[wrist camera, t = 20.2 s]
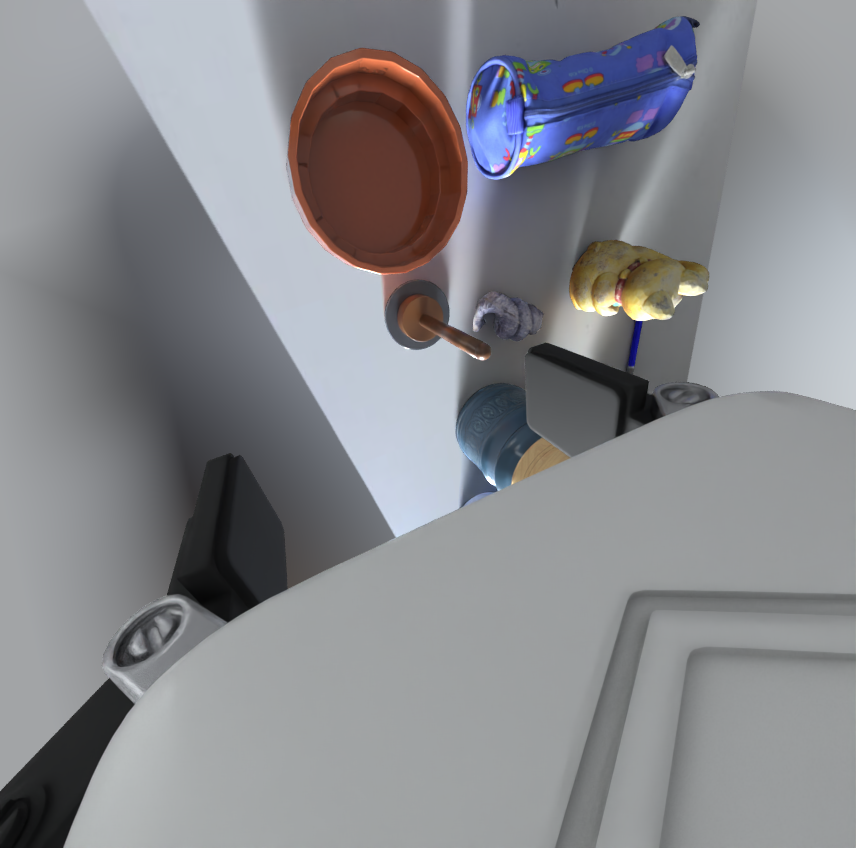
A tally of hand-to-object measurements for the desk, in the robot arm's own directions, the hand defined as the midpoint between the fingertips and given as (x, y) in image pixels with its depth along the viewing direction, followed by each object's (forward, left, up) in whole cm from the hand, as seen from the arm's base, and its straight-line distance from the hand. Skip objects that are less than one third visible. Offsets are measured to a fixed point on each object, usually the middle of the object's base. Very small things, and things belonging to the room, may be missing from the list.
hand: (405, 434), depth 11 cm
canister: (+30, -3, -31) cm, 43 cm away
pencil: (+44, +21, -31) cm, 58 cm away
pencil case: (+13, +29, -31) cm, 45 cm away
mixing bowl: (0, +12, -31) cm, 34 cm away
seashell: (+21, +10, -31) cm, 39 cm away
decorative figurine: (+29, +21, -31) cm, 48 cm away
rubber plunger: (+11, +4, -31) cm, 33 cm away
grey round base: (+11, +4, -31) cm, 33 cm away
